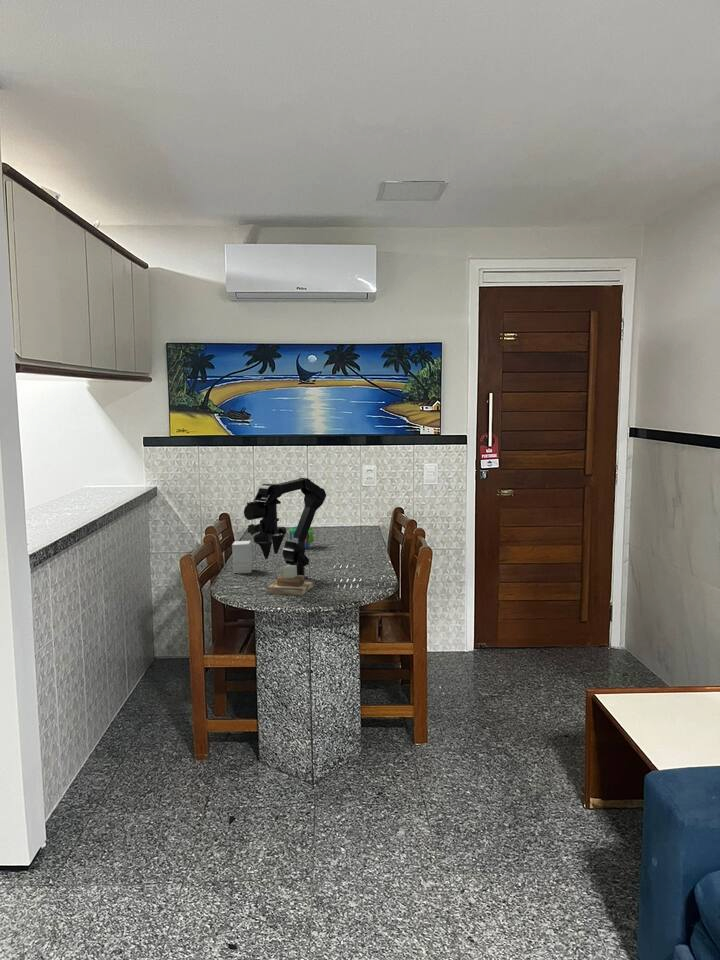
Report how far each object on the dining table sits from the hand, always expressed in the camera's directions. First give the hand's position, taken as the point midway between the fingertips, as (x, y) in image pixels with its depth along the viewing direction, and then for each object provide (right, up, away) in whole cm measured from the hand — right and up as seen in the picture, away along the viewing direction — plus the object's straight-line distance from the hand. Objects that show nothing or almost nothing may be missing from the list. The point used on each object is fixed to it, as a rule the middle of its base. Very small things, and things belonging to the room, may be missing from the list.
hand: (271, 556), depth 277 cm
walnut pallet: (+8, -10, -4) cm, 14 cm away
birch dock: (+8, -12, -4) cm, 15 cm away
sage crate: (+8, -7, -5) cm, 12 cm away
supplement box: (-15, -10, +27) cm, 32 cm away
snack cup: (+6, -4, +71) cm, 71 cm away
